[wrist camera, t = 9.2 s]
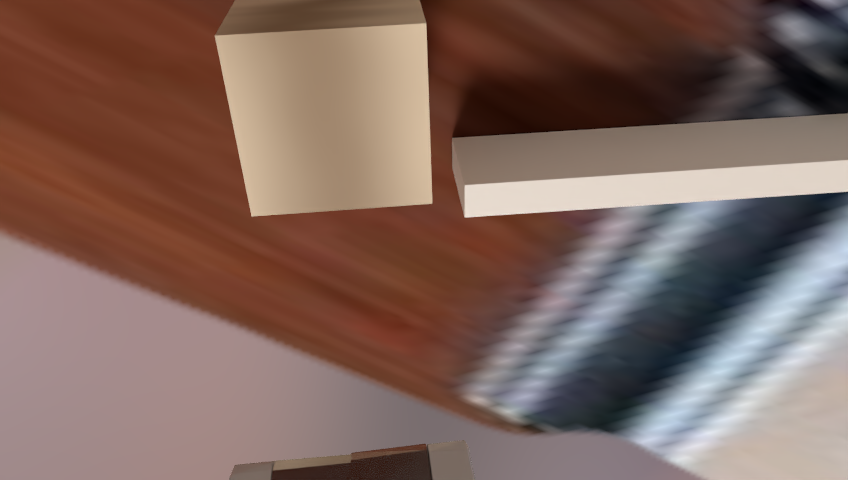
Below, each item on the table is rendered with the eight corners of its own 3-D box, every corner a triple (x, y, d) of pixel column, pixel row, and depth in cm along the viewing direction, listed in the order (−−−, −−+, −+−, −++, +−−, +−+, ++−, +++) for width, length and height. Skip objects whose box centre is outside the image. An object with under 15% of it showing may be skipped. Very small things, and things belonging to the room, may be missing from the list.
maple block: (410, -32, 21) (426, 23, 16) (416, 117, 24) (432, 203, 19) (248, -23, 21) (214, 35, 16) (273, 126, 24) (251, 216, 19)
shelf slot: (1049, -131, 21) (1159, -118, 18) (938, 136, 26) (1010, 180, 23) (450, -105, 20) (465, -86, 17) (452, 167, 25) (464, 217, 22)
